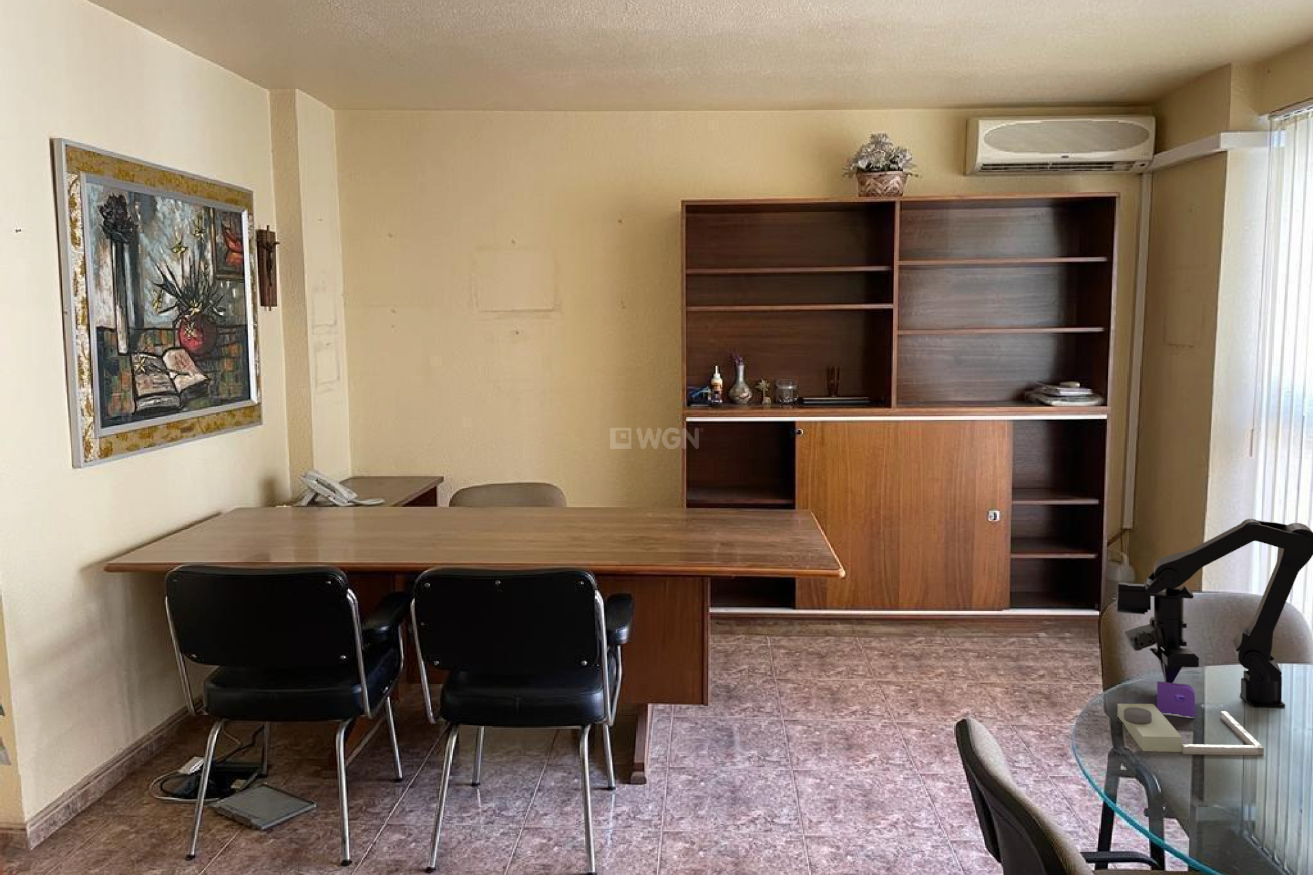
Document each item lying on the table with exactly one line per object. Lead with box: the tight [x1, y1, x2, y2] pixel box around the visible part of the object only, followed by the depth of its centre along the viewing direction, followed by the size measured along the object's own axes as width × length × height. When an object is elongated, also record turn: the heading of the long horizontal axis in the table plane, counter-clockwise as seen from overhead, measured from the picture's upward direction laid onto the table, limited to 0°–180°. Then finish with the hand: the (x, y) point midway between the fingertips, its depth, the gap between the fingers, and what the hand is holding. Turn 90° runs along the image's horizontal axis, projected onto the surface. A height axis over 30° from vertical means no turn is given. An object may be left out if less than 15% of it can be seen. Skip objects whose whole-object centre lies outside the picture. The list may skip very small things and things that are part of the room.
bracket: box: [1156, 681, 1196, 719], centre depth 204 cm, size 12×7×7 cm, turn 152°
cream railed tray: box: [1117, 703, 1265, 756], centre depth 191 cm, size 22×17×4 cm
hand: (1168, 684), depth 212 cm, fingers closed
